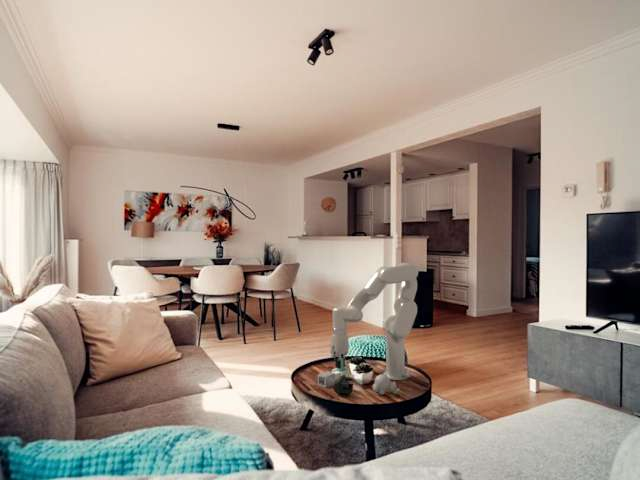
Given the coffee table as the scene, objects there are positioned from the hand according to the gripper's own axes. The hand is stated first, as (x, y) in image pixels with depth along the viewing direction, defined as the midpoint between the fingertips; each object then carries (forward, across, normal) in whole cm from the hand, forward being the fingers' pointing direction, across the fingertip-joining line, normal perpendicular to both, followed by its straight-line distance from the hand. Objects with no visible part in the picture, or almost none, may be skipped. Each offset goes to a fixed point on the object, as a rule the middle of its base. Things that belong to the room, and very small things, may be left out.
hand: (340, 366), depth 201 cm
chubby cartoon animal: (+6, 0, +28) cm, 29 cm away
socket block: (+6, 0, 0) cm, 6 cm away
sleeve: (+6, +11, 0) cm, 12 cm away
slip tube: (+5, +5, 0) cm, 7 cm away
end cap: (+6, +13, +13) cm, 19 cm away
